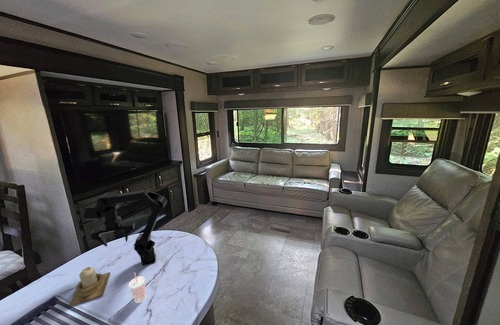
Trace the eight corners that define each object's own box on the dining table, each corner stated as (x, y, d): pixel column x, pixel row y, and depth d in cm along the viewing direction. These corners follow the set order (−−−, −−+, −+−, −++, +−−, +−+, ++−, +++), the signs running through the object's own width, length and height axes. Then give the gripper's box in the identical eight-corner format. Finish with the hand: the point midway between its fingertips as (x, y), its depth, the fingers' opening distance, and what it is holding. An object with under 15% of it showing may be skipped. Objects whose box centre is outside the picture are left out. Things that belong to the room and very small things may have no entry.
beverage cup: (141, 305, 85) (135, 279, 81) (129, 303, 86) (122, 277, 82) (151, 293, 91) (145, 267, 87) (139, 291, 92) (133, 266, 88)
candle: (90, 293, 91) (85, 275, 88) (81, 291, 92) (75, 273, 89) (101, 282, 96) (96, 265, 93) (92, 281, 97) (87, 264, 94)
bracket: (110, 273, 103) (108, 267, 101) (102, 296, 90) (100, 289, 89) (81, 281, 98) (79, 275, 97) (69, 306, 86) (67, 299, 85)
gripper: (133, 206, 112) (138, 231, 117) (93, 214, 106) (100, 239, 110) (130, 216, 102) (135, 242, 107) (86, 225, 96) (93, 252, 100)
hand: (116, 243), depth 106 cm, fingers open, 9 cm apart
